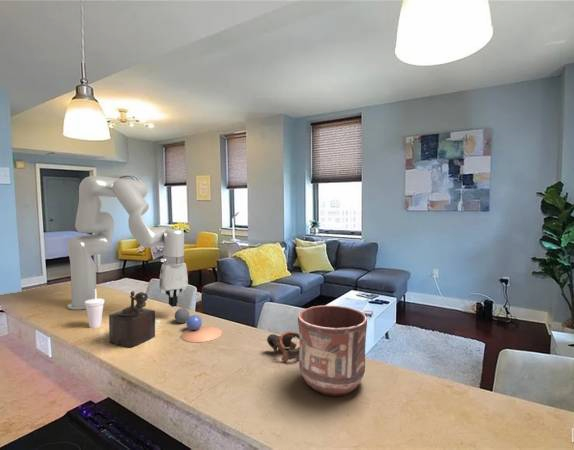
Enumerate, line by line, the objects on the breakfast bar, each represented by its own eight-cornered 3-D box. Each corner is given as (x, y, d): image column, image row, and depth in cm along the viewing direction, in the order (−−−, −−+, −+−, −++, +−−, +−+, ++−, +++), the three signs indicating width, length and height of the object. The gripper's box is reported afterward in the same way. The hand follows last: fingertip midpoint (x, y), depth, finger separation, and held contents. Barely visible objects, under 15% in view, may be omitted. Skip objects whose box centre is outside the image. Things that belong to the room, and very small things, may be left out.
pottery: (297, 365, 94) (298, 303, 93) (359, 367, 93) (361, 305, 92) (296, 402, 76) (296, 327, 75) (372, 406, 75) (374, 330, 74)
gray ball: (178, 307, 124) (181, 321, 122) (190, 305, 128) (193, 318, 126) (170, 312, 127) (173, 326, 125) (182, 310, 131) (185, 323, 129)
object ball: (184, 313, 119) (192, 319, 115) (198, 311, 123) (205, 317, 119) (182, 328, 119) (189, 334, 115) (196, 325, 123) (203, 331, 119)
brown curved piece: (304, 350, 105) (309, 333, 101) (297, 375, 97) (302, 358, 93) (269, 337, 107) (272, 321, 102) (259, 362, 99) (262, 345, 94)
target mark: (175, 332, 117) (175, 332, 116) (211, 324, 125) (211, 323, 125) (190, 346, 106) (190, 345, 106) (228, 335, 114) (228, 335, 114)
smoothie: (108, 323, 125) (108, 287, 124) (97, 329, 118) (96, 291, 118) (93, 322, 125) (92, 286, 125) (81, 329, 119) (80, 291, 118)
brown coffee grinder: (106, 343, 107) (105, 289, 106) (134, 331, 117) (133, 282, 116) (141, 352, 101) (140, 295, 100) (167, 339, 111) (166, 287, 110)
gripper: (159, 263, 121) (158, 312, 122) (195, 259, 132) (194, 304, 133) (151, 260, 126) (150, 306, 128) (186, 257, 137) (186, 300, 138)
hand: (173, 305), depth 130 cm, fingers closed
